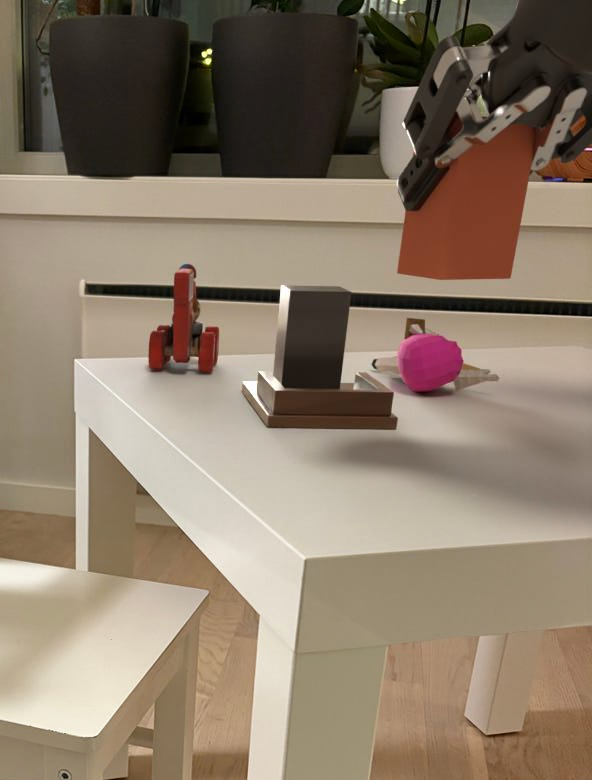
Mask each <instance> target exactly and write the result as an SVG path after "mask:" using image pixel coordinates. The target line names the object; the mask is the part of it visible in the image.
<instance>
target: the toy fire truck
mask: <svg viewBox="0 0 592 780" xmlns="http://www.w3.org/2000/svg"><path fill="white" fill-rule="evenodd" d="M173 275H174V276H173V307H172V308H173V314H172V317H171V322H172V323H171V324H170V325H169V324H159V325H157V328H156V330H152V331H151V332H150V334H149V340H148V353H147V354H148V357H147V359H148V367H149V369H150V370H151V371H163V370H164V368H165V365H166V363H169V362H170V361H171V358H172V359H173V360H174V363H176V364H181V363H182V364H185V363H187V364H188V363H189V362H190V359H191V357H193V358H198V359H197V369H198V372H200V373H212V372H213V371H214V366H215V365H217V364H218V358H219V347H220V327H219V326H215V325H214V326H213V325H207V326H205V329H204V327H203V326H204V325H203V322H200V321H197V320H198V319H199V317H200V315H201V310H202V309H201V304H200V302H199V300H198V299H197V282H196V281H195V279H197V269H196V268H195V266H194V265H193V264H191V263H184V264H182V265H181V266H180V267H179V269H177V271H175V272H174V273H173ZM203 329H204V331H203Z"/></svg>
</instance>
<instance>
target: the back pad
mask: <svg viewBox="0 0 592 780" xmlns="http://www.w3.org/2000/svg"><path fill="white" fill-rule="evenodd" d="M481 117H482V119H483V120H484V119H485V118H487V117H488V116H482V115H481ZM462 128H463V124H462V122H461V119H460V117H458V119H457V120H456V122H455V123H454V124H453V126H452V127H451V129H450V130H449V131H448V132H447V134H448V136H449V139H450V140H451V139H452V138H453V137H455V136H456V135H457V134H458V133H459V132H460V131H461V130H462ZM535 141H536V136H535V133H534V131H533V129H532V127H529V126H526V125H524V124H521V123H520V124H514V125H509V126H507V127H506V128H504V129H503V130H502V131H501V132H500V133H498V134H497V135H496V136H495V137H494V138H492V139H491V140H490V141H489V142H488V143H486V144H484V145H479V144H474V145H473V146H472V147H471V148H469V149H468V150H467V151H466V152H465V153H463V154H462V155H461V156H460V157H459V158H457V159H456V160H455V161H454V162H453V163H451V164H450V165H449V166H448V167H449V170H448V172H447V173H446V174H445V176H444V177H443V178H442V180H441V181H440V183H439V184H438V185H437V187H436V188H435V189H434V191H433V192H432V193H431V195H430V196H429V198H428V199H427V200H426V202H425V203H424V204H423V206H422V207H421V209H420V210H419V211H406V210H405V209H404V211H405V212H404V219H403V226H402V232H401V233H402V234H401V239H400V240H401V241H400V246H399V247H400V248H399V256H398V262H397V269H396V270H397V271H396V273H397V274H398V275H405V276H411V277H412V276H413V277H417V278H425V279H430V280H431V279H432V280H438V281H457V280H458V281H460V280H464V281H465V280H510V279H511V278H512V273H513V267H514V261H515V257H516V252H517V251H516V250H517V246H518V240H519V235H520V229H521V223H522V218H523V212H524V209H525V208H524V207H525V202H526V196H527V192H528V191H527V190H528V186H529V180H530V176H531V175H530V170H531V164H532V159H533V147H534V144H535ZM414 154H415V152H414V151H413V153H412V157H413V156H414ZM529 175H530V176H529Z"/></svg>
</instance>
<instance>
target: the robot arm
mask: <svg viewBox="0 0 592 780" xmlns="http://www.w3.org/2000/svg"><path fill="white" fill-rule="evenodd" d="M480 97H481V100H482V102H483V105H484V106H485V109H486V111H487V113H488V116H486V117H487V118H485V119H484V120H483V119H482V117H481V116H482V115H481V111H480V110H479V108H478V100H479V98H480ZM582 116H583V117H584V119H585V123H584V125H583V126H582V127H581V128H580V129H579V130H578V132H576V133H574V132H573V130H572V127H573V126H574V125H575V124H576V123H577V122H578V121H579V120H580V119H581V118H582ZM458 117H460V119H461V122H462V124H463V128H462V130H461V131H460V132H459V133H458V134H457V135H456V136H455V137H453V138H452V139H451V140H450V139H449V136H448V134H447V132H448V131H449V130H450V129H451V127H452V126H453V124H454V123H455V122H456V120H457V119H458ZM520 123H521V124H524V125H526V126H529V127H532V129H533V131H534V133H535V136H536V141H535V144H534V147H533V159H532V164H531V170H530V175H529V177H530V176H531V175H532V174H533V173H534V172H535V171H536V172H537V171H540V170H542V169H543V168H544V169H545V167H546V166H548V165H549V164H550V162H551V160H555V159H559V161H560V163H561V164H567V163H571V162H573V161H574V160H576V159H577V158H578V157H579V156H580V155H581V154H582V153H583V152H584V151H585V150H586V149H587V148H588V147H590V146H591V144H592V0H517V2H516V6H515V10H514V13H513V15H512V16H511V18H510V20H509V21H508V22H506V23H505V24H504V26H503V27H502V28H501V29H500V30H498V31H497V32H495V34H493V35H492V36H491V37H490V38H489V39H488V40H487V42H486V44H483V45H475V46H468V47H467V46H466V47H462V46H461V44H460V41H459V40H458V38H457V36H455V35H449V36H446V37H445V38H443V39H442V40H441V41H440V42H439V43H438V44H437V45H436V46H435V49H434V52H433V54H432V56H431V58H430V60H429V63H428V65H427V67H426V70H425V72H424V74H423V76H422V78H421V81H420V83H419V85H418V87H417V89H416V92H415V94H414V96H413V98H412V100H411V103H410V105H409V107H408V109H407V111H406V114H405V116H404V118H403V121H402V126H403V128H404V130H405V132H406V133H407V135H408V138H409V140H410V143H411V145H412V148H413V152H415V154H414V156H413V155H412V157H411V159H410V160H409V161H408V163H407V164H406V166H405V167H404V169H403V171H401V173H400V175H399V176H398V177H397V180H396V188H397V193H398V195H399V198H400V200H401V202H402V205H403V208H404V211H405V210H406V211H419V210H420V209H421V207H422V206H423V204H424V203H425V202H426V200H427V199H428V198H429V196H430V195H431V193H432V192H433V191H434V189H435V188H436V187H437V185H438V184H439V183H440V181H441V180H442V178H443V177H444V176H445V174H446V173H447V172H448V170H449V167H448V166H449V165H450V164H451V163H453V162H454V161H455V160H456V159H457V158H459V157H460V156H461V155H462V154H463V153H465V152H466V151H467V150H468V149H469V148H471V147H472V146H473V145H474V144H479V145H484V144H486V143H488V142H489V141H490V140H491V139H492V138H494V137H495V136H496V135H497V134H498V133H500V132H501V131H502V130H503V129H504V128H506V127H507V126H509V125H514V124H520Z"/></svg>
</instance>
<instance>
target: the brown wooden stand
mask: <svg viewBox="0 0 592 780" xmlns="http://www.w3.org/2000/svg"><path fill="white" fill-rule="evenodd" d="M279 293H280V295H279V305H278V306H279V307H278V315H277V316H278V317H277V325H276V326H277V328H276V340H275V351H274V360H273V361H274V362H273V370H272V371H273V372H271V371H269V370H258V372H257V381H247V380H246V381H244V380H243V381H242V382H241V392H242V394H243V396H244V397H245V398H246V400H247V401H248V402H249V403H250V405H251V406H252V408H253V409H254V410H255V412H256V413H257V415H258V416H259V418H260V419H261V420H262V422H263V423H264V425H265V426H266V427H267V428H281V429H282V428H283V429H285V428H286V429H288V428H289V429H297V428H298V429H351V430H352V429H355V430H356V429H360V430H397V429H398V428H397V427H398V421H399V417H398V416H396V415H395V414H394V413H393V412H392V410H393V402H394V395H395V392H394V391H393V390H392V389H390V388H388V387H387V385H386V386H385V384H383V383H382V382H380V381H379V380H378V379H376V378H375V377H374V376H372V375H371V374H369V373H368V372H364V371H363V372H360V371H359V372H358V371H357V372H355V376H354V382H342V375H343V365H344V358H345V350H346V341H347V332H348V323H349V315H350V308H351V301H352V300H351V299H352V291H350V290H348V289H346V288H344V287H343V286H342V287H341V286H340V285H339V286H335V285H328V286H327V285H290V284H289V285H288V284H287V285H285V284H281V286H280V292H279Z"/></svg>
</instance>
